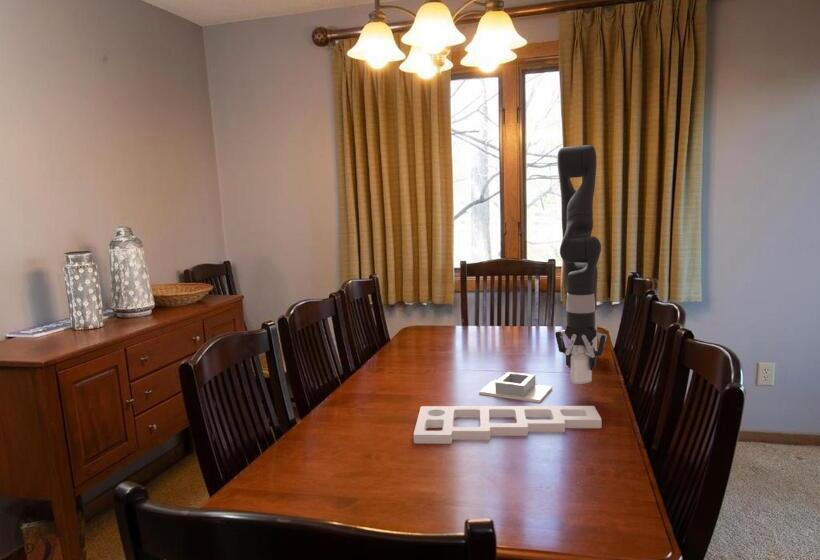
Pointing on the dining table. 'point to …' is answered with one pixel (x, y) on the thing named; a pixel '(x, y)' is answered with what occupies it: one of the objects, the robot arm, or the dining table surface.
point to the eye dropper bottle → (580, 366)
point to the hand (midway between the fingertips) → (580, 368)
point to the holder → (446, 414)
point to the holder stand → (517, 388)
